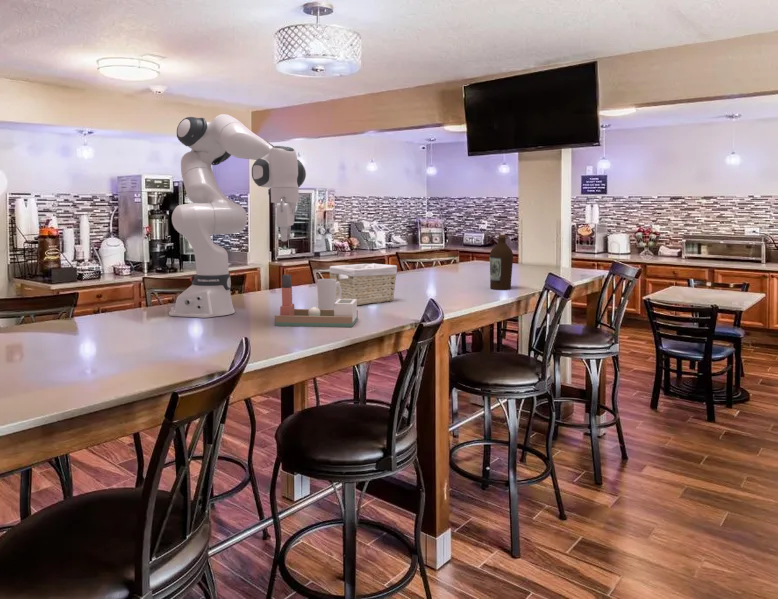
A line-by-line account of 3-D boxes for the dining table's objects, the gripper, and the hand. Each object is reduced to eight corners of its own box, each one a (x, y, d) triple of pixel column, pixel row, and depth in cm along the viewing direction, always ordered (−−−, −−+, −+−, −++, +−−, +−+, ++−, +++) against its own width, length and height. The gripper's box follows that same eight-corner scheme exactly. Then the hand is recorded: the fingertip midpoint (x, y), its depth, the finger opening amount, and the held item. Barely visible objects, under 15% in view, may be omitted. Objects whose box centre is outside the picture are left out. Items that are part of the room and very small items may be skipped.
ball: (307, 319, 205) (306, 307, 204) (309, 317, 209) (309, 305, 208) (319, 320, 205) (319, 307, 204) (321, 317, 209) (321, 306, 208)
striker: (280, 319, 204) (279, 276, 202) (285, 315, 211) (284, 274, 209) (289, 319, 204) (288, 276, 202) (294, 315, 211) (293, 274, 209)
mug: (325, 315, 220) (325, 281, 218) (313, 313, 225) (313, 279, 223) (347, 312, 227) (347, 279, 225) (335, 309, 232) (335, 277, 230)
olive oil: (500, 286, 298) (501, 233, 294) (516, 289, 289) (518, 234, 285) (484, 288, 292) (485, 234, 288) (500, 290, 283) (502, 235, 279)
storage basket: (372, 296, 265) (372, 262, 263) (399, 301, 253) (399, 264, 251) (327, 302, 249) (327, 265, 247) (353, 307, 237) (353, 268, 235)
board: (274, 325, 201) (274, 303, 200) (285, 318, 215) (285, 297, 214) (351, 327, 199) (351, 304, 198) (357, 319, 213) (357, 298, 212)
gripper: (291, 196, 192) (292, 242, 194) (297, 197, 212) (298, 238, 214) (270, 196, 191) (272, 242, 193) (278, 197, 211) (279, 238, 213)
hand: (285, 240), depth 204 cm, fingers open, 8 cm apart
